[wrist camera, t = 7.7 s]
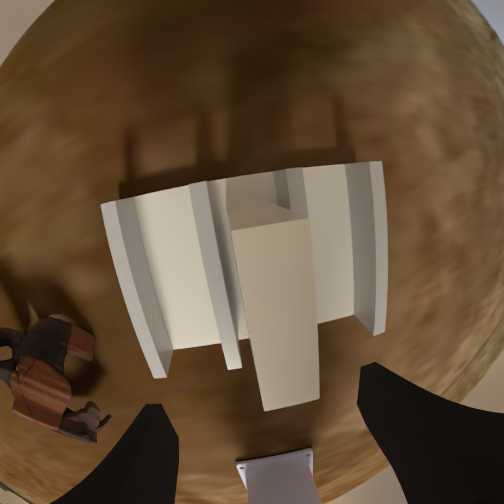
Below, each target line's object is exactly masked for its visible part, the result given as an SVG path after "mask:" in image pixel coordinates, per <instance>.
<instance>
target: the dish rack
mask: <svg viewBox="0 0 504 504" xmlns="http://www.w3.org/2000/svg"><path fill="white" fill-rule="evenodd" d="M261 200H266V201H269V202H271V203H274V204H276V205H279V206H281V207H283V208H286V209H288V210H291V211H293V212H295V213H298V214H300V215H302V216H305V217H307V218H309V227H310V236H311V246H312V257H313V268H314V281H315V294H316V309H317V324H319V323H323V322H327V321H331V320H335V319H339V318H343V317H347V316H350V315H355V317H356V318H357V319H358V320H359V321H360V322H361V323H362V324H363V325H364V326H365V327H366V328H367V329H368V330H369V331H370V332H371V333H372V334H373V336H374V335H378V334H381V333H384V332H385V322H386V307H387V285H388V235H387V213H386V198H385V186H384V176H383V167H382V161H372V162H360V163H350V164H338V165H327V166H316V167H306V168H302V167H299V168H290V169H283V170H278V171H272V172H265V173H258V174H251V175H244V176H238V177H231V178H225V179H219V180H214V181H203V182H198V183H193V184H188V185H187V186H181V187H176V188H172V189H167V190H162V191H158V192H153V193H149V194H144V195H140V196H136V197H131V198H126V199H121V200H116V201H112V202H108V203H104V204H101V209H102V214H103V219H104V224H105V228H106V233H107V237H108V242H109V246H110V250H111V254H112V258H113V262H114V265H115V269H116V273H117V276H118V280H119V283H120V286H121V290H122V293H123V296H124V299H125V303H126V306H127V309H128V312H129V315H130V318H131V320H132V323H133V326H134V329H135V332H136V334H137V337H138V340H139V342H140V345H141V348H142V350H143V353H144V355H145V358H146V360H147V363H148V365H149V367H150V370H151V372H152V374H153V377H154V378H166V377H167V375H168V370H169V366H170V362H171V357H172V353H173V349H181V348H189V347H196V346H204V345H210V344H217V343H221V344H222V348H223V352H224V356H225V360H226V364H227V368H228V370H231V369H238V368H242V362H241V355H240V347H239V340H241V339H247V338H249V334H248V329H247V324H246V319H245V313H244V308H243V302H242V297H241V291H240V286H239V280H238V275H237V269H236V263H235V258H234V252H233V246H232V240H231V235H230V229H229V223H228V217H227V211H226V206H230V205H236V204H242V203H248V202H254V201H261ZM317 327H318V326H317ZM318 350H319V349H318Z"/></svg>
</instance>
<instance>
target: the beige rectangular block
mask: <svg viewBox="0 0 504 504" xmlns="http://www.w3.org/2000/svg"><path fill="white" fill-rule="evenodd" d="M226 211H227V217H228V223H229V229H230V235H231V240H232V246H233V252H234V258H235V263H236V269H237V275H238V280H239V286H240V291H241V297H242V302H243V308H244V313H245V319H246V324H247V329H248V334H249V339H250V344H251V349H252V354H253V359H254V364H255V369H256V374H257V379H258V384H259V389H260V393H261V398H262V403H263V408H264V411H270V410H275V409H279V408H284V407H289V406H293V405H297V404H301V403H305V402H309V401H313V400H317V399H320V396H319V350H318V327H317V309H316V294H315V281H314V268H313V257H312V246H311V236H310V227H309V218H307V217H305V216H302V215H300V214H298V213H295V212H293V211H291V210H288V209H286V208H283V207H281V206H279V205H276V204H274V203H271V202H269V201H266V200H261V201H254V202H248V203H242V204H236V205H230V206H226Z"/></svg>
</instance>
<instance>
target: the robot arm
mask: <svg viewBox="0 0 504 504" xmlns="http://www.w3.org/2000/svg"><path fill="white" fill-rule="evenodd" d="M357 405H358V408H359V410H360V413H361V415H362V417H363V419H364V422H365V424H366V426H367V427H368V429H369V431H370V432H371V434H372V435H373V437H374V439H375V440H376V442H377V444H378V445H379V447H380V448H381V450H382V452H383V453H384V455H385V456H386V458H387V459H388V461H389V463H390V464H391V466H392V468H393V470H394V471H395V474H396V476H397V478H398V480H399V483H400V485H401V487H402V489H403V492H404V495H405V497H406V500H407V502H408V504H504V413H496V412H490V411H485V410H480V409H475V408H471V407H467V406H465V405H461V404H458V403H455V402H452V401H450V400H447V399H445V398H442V397H440V396H438V395H435V394H433V393H431V392H429V391H427V390H425V389H423V388H421V387H419V386H417V385H415V384H413V383H411V382H409V381H408V380H406V379H404V378H402V377H401V376H399V375H397V374H395V373H394V372H392V371H390V370H389V369H387V368H385V367H383V366H382V365H380V364H378V363H376V362H374V363H371V364H368V365H365V366H362V367H361V371H360V381H359V390H358V398H357ZM178 466H179V437H178V435H177V434H176V432H175V430H174V428H173V426H172V424H171V422H170V420H169V418H168V416H167V415H166V413H165V411H164V409H163V407H162V404H146V405H145V406H144V407H143V409H142V410H141V411H140V413H139V414H138V415H137V417H136V418H135V420H134V421H133V422H132V424H131V425H130V427H129V428H128V429H127V431H126V432H125V433H124V435H123V436H122V437H121V439H120V440H119V441H118V443H117V444H116V445H115V446H114V448H113V449H112V450H111V451H110V452H109V454H108V455H107V456H106V457H105V458H104V459H103V461H102V462H101V463H100V464H99V465H98V466H97V467H96V468H95V469H94V470H93V471H92V472H91V473H90V474H89V475H88V476H87V477H86V478H85V479H84V480H83V481H81V482H80V483H79V484H78V485H76V486H75V487H74V488H72V489H71V490H70V491H68V492H67V493H66V494H64V495H63V496H62V497H60V498H58V499H57V500H55V501H54V502H52V503H50V504H174V503H175V493H176V484H177V475H178ZM236 467H237V469H238V472H239V474H240V476H241V478H242V480H243V483H244V485H245V487H246V489H247V493H248V501H249V504H322V503H321V500H320V497H319V494H318V491H317V488H316V485H315V482H314V479H313V451H312V449H311V448H307V449H303V450H299V451H295V452H291V453H286V454H281V455H276V456H271V457H266V458H260V459H253V460H247V461H240V462H237V463H236Z"/></svg>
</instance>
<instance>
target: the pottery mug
mask: <svg viewBox="0 0 504 504" xmlns="http://www.w3.org/2000/svg"><path fill="white" fill-rule="evenodd" d="M95 340H96V338H95V337H94V336H93V335H91V334H90V333H89V332H87V331H85V330H83V329H82V328H79V327H77V326H75V325H72V324H70V323H68V322H65V321H62V320H61V319H56V318H53V317H44V318H41V319H39V320H38V322H37V323H36V324H35V325H34V326H33V327H31V328H30V330H29V331H27V330H24V331H16V330H13V329H10V328H0V347H2V346H9V347H10V348H12V358H11V359H8V360H3V361H0V379H1V380H3V381H4V382H5V383H6V384H7V385H8V387H9V388H10V389H11V392H12V394H13V395H14V398H15V400H14V405H13V407H12V410H13V411H14V412H15V413H16V414H17V415H20V416H22V417H24V418H26V419H28V420H31V421H33V422H35V423H37V424H41V425H43V426H46V427H48V428H51V429H52V430H53V431H56V432H58V433H61V434H63V435H67V436H70V437H72V438H75V439H78V440H82V441H85V442H88V443H95V444H97V433H98V432H99V431H100V430H101V429H103V428H104V427H105V426H106V425H107V424H108V423H109V421H110V420H111V418H112V416H111V415H110V414H108V415H107V416H106V417H105V418H104V419H103V420H102V421H100V419H99V413H100V410H99V408H98V407H97V406H96V404H95V403H93V402H92V401H89V402H88V403H87V404H86V405H85V408H83V409H80V410H78V411H76V412H73V411H72V410H70V409H68V408H67V407H66V406H67V404H68V402H69V400H70V399H71V397H72V393H71V386H70V383H69V382H68V381H67V379H66V378H65V377H64V376H63V373H64V360H65V356H66V354H67V353H68V354H70V355H75V356H76V357H79V358H81V359H83V360H85V361H87V362H89V361H91V360H92V358H93V349H94V345H95ZM17 364H18V371H17V370H15V369H16V367H17Z"/></svg>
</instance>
